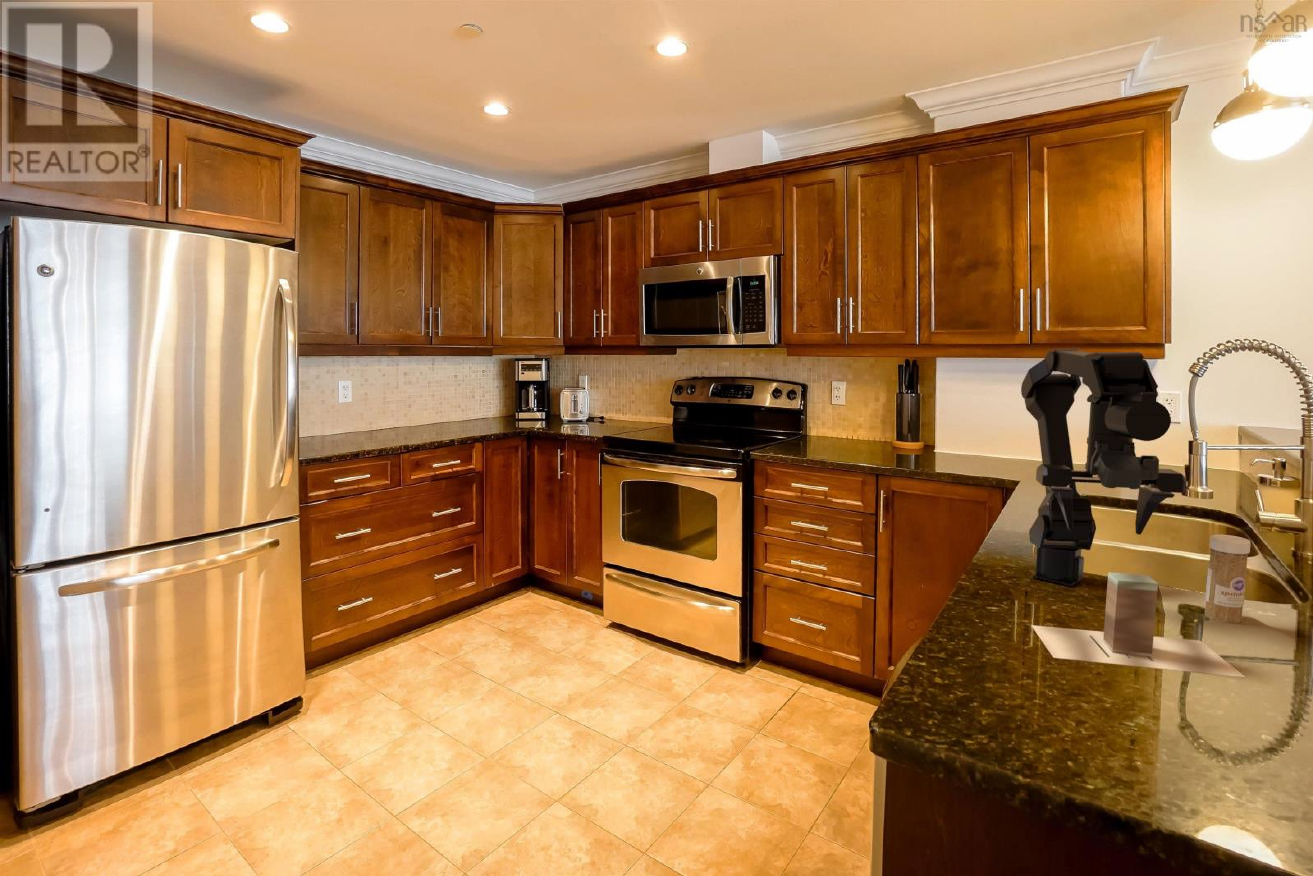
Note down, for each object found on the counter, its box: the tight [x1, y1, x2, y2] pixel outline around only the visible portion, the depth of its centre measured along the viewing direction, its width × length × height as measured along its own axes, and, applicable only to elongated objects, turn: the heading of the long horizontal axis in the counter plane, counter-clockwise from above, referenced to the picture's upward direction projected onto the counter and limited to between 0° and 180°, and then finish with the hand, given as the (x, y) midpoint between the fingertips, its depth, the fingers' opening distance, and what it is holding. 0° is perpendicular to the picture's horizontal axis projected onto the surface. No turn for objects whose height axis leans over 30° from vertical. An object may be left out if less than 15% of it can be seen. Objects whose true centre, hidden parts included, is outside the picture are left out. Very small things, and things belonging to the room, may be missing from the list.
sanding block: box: [1103, 571, 1159, 657], centre depth 88 cm, size 4×4×10 cm
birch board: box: [1031, 624, 1247, 678], centre depth 89 cm, size 21×11×1 cm, turn 74°
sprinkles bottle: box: [1204, 534, 1251, 625], centre depth 99 cm, size 5×5×13 cm
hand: (1103, 531), depth 104 cm, fingers open, 9 cm apart
